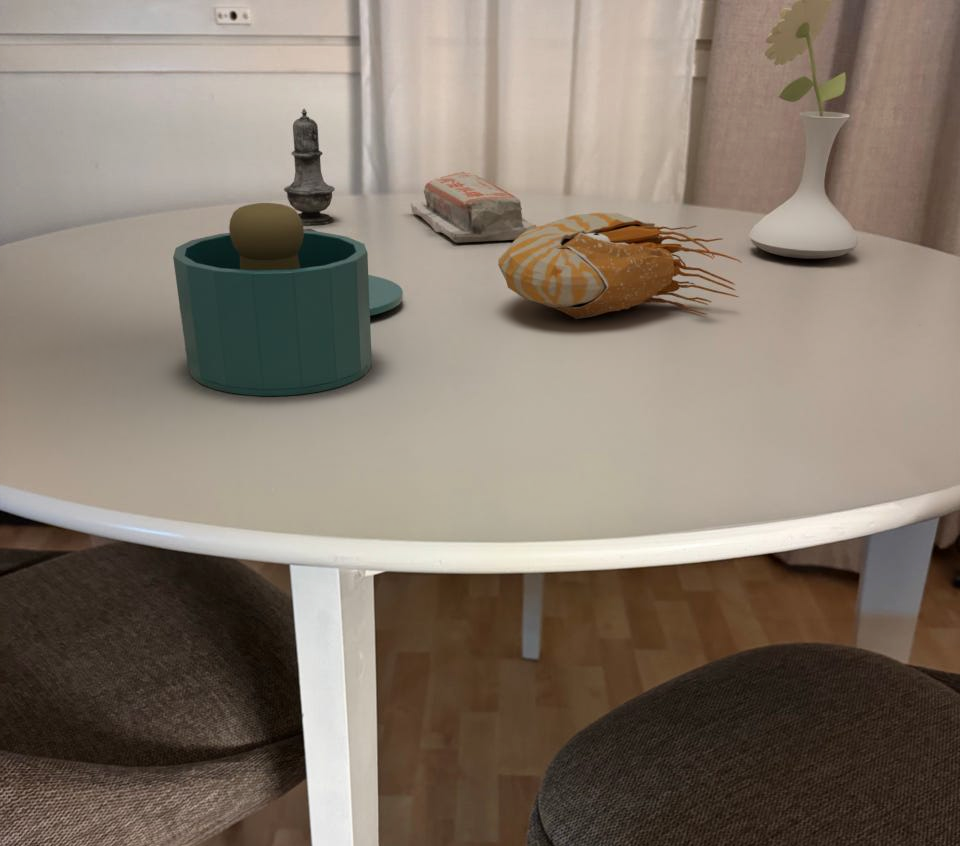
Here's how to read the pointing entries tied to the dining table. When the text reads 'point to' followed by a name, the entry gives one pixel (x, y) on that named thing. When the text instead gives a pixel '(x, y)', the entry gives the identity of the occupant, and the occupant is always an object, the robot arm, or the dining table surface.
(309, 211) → the salt shaker
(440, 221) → the packaged product
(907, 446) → the dining table surface
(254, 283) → the tin
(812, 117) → the flower in vase
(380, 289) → the tin lid
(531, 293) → the nautilus
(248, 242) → the cork
